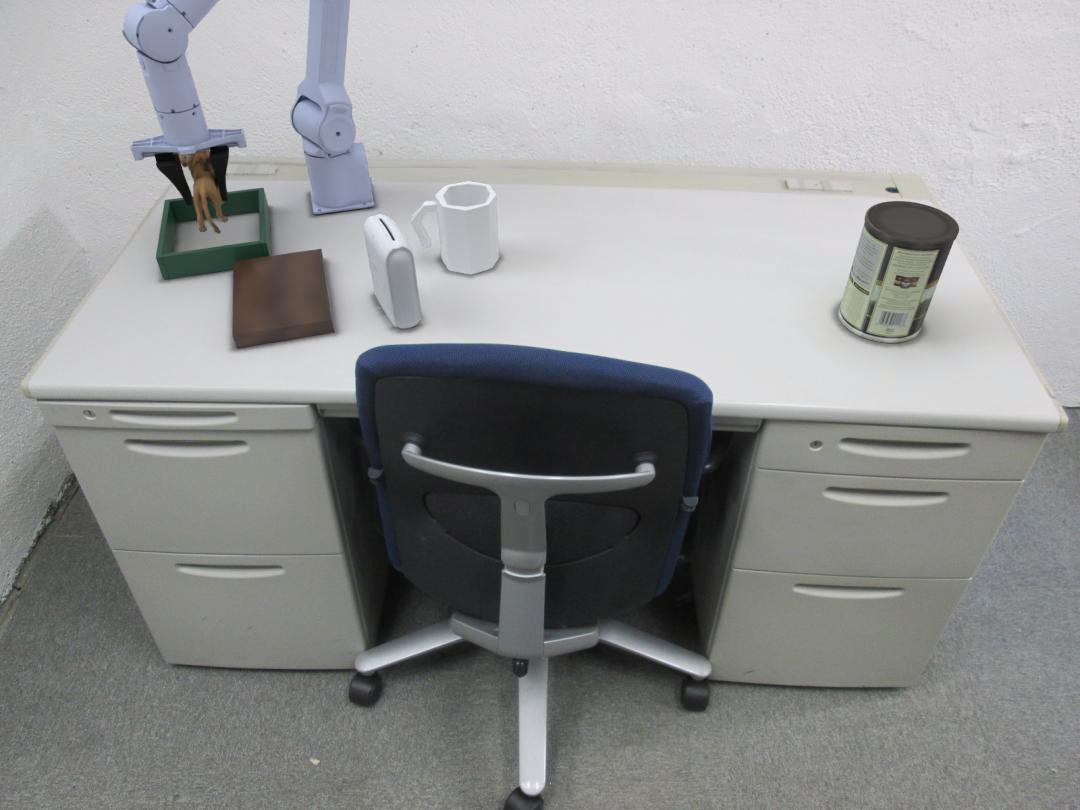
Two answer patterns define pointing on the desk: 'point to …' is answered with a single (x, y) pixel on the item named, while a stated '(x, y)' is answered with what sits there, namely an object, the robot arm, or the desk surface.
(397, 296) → the photo printer
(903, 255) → the coffee can
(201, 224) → the lion figurine
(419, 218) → the mug
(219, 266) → the storage box
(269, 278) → the stand
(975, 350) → the desk surface
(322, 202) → the robot arm
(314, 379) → the desk surface
